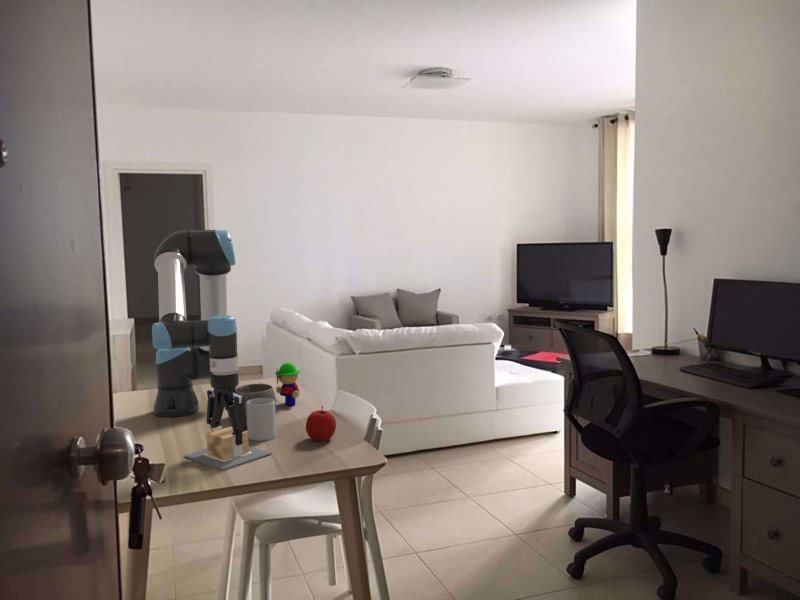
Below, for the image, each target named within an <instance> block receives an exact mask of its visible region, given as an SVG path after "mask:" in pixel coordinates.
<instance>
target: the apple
mask: <svg viewBox="0 0 800 600" xmlns="http://www.w3.org/2000/svg"><path fill="white" fill-rule="evenodd" d="M323 408H324V406H323V405H321V410H317V409H316V410H314V411H313V412H311V413H309V415H308V417H307V419H306V423H305V432H306V434H307V435H308V437H309V438H310V440H312V441H314V442H327V441H328V440H330V439H331V438H332V437H333V436H334V434H335V432H336V429H337V421H336V418H335V416H334V415H333V414H332V413H331V412H329V411H327V410H324V409H323Z"/></svg>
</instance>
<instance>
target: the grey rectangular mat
mask: <svg viewBox="0 0 800 600" xmlns="http://www.w3.org/2000/svg"><path fill="white" fill-rule="evenodd" d="M271 455H273V453H272V452H270V451H267V450H264V449H260V448H256V447H254V446H251V445H250V446H249V453H246V454H243V455H241V456H238V457H234V458H231V459H228V460H222V459H219V458H216V457H213V456H210V455H207V448H204V449H201V450H197V451H194V452H190V453H187V454H184V458H186V459H189V460H191V461H195V462H197V463H200V464H203V465H206V466H209V467H212V468H215V469H217V470H220V471H227V470H229V469H232V468H235V467H238V466H242V465H245V464H247V463H251V462H254V461H256V460H259V459H262V458H265V457H269V456H271Z"/></svg>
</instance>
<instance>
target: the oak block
mask: <svg viewBox="0 0 800 600" xmlns="http://www.w3.org/2000/svg"><path fill="white" fill-rule="evenodd" d="M232 433H233V428H232V426H227V427H224V428H222V429H221V430H217V431H214V432H212V431H210V432H207V433H206V449H207V455H210V456H213V457H216V458H219V459H222V460H228V459H231V458H234V457H233V455H232ZM242 441H243V443H242V455H243V454H246V453H249V439H248V432H247V431H245V432H243V433H242Z"/></svg>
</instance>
